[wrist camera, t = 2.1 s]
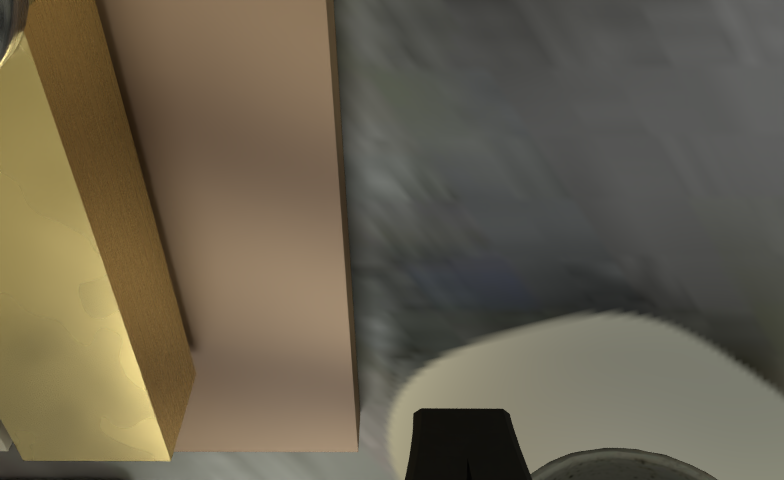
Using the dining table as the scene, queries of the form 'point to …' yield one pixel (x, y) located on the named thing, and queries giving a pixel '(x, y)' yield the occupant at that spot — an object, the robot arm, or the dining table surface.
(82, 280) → the latch bar
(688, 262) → the dining table surface
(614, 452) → the ceramic mug
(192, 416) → the strike board
